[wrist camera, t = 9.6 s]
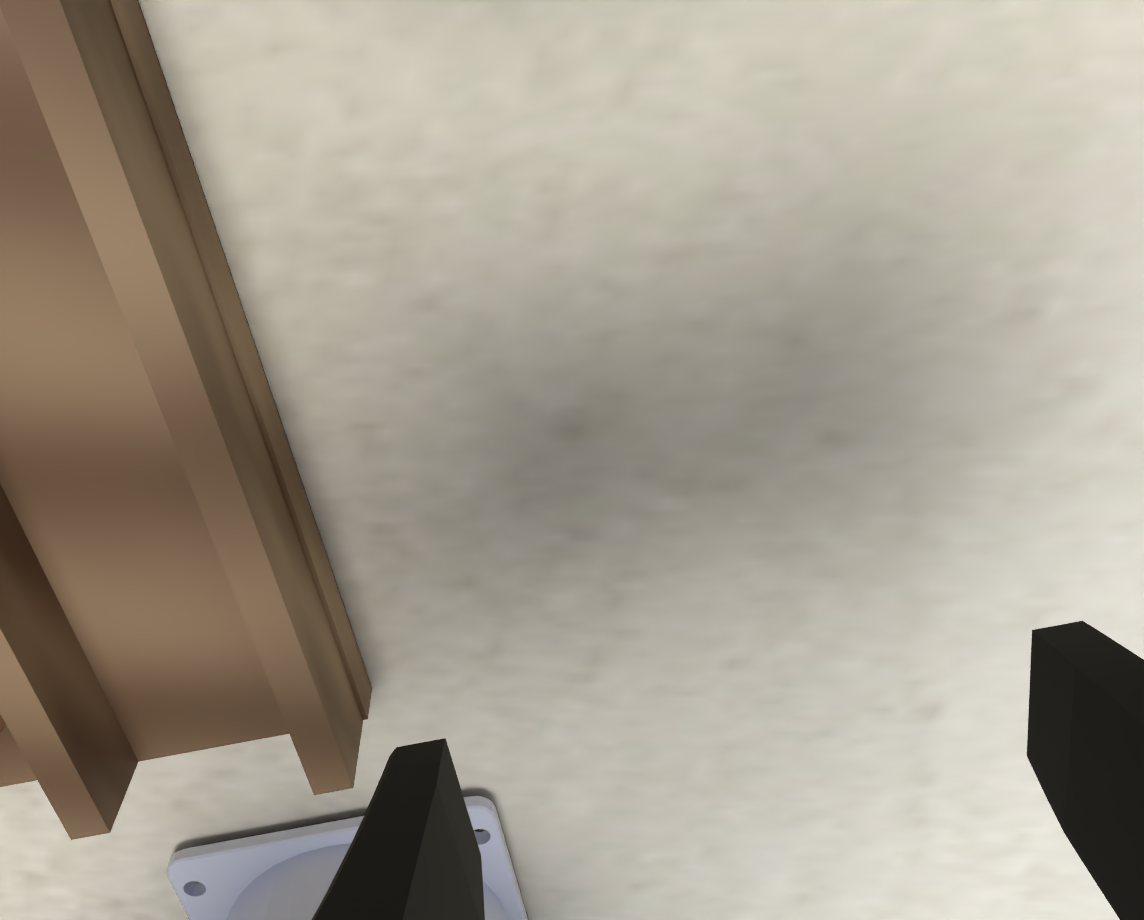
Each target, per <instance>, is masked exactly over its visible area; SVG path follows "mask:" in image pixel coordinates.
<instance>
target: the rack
mask: <svg viewBox="0 0 1144 920" xmlns="http://www.w3.org/2000/svg"><path fill="white" fill-rule="evenodd" d="M371 692H372V688H371V685H370V682H369V679H368V676H367V673H366V670H365V667H364V664H363V661H362V658H361V655H360V652H359V649H358V646H357V643H356V640H355V638H354V635H353V632H352V629H351V626H350V623H349V620H348V617H347V614H346V611H345V608H344V605H343V602H342V599H341V596H340V593H339V591H338V588H337V585H336V582H335V579H334V576H333V573H332V570H331V567H330V564H329V561H328V558H327V555H326V552H325V549H324V546H323V544H322V541H321V538H320V535H319V532H318V529H317V526H316V523H315V520H314V517H313V514H312V511H311V508H310V505H309V502H308V499H307V497H306V494H305V491H304V488H303V485H302V482H301V479H300V476H299V473H298V470H297V467H296V464H295V461H294V458H293V455H292V452H291V449H290V447H289V444H288V441H287V438H286V435H285V432H284V429H283V426H282V423H281V420H280V417H279V414H278V411H277V408H276V405H275V402H274V400H273V397H272V394H271V391H270V388H269V385H268V382H267V379H266V376H265V373H264V370H263V367H262V364H261V361H260V358H259V355H258V353H257V350H256V347H255V344H254V341H253V338H252V335H251V332H250V329H249V326H248V323H247V320H246V317H245V314H244V311H243V308H242V306H241V303H240V300H239V297H238V294H237V291H236V288H235V285H234V282H233V279H232V276H231V273H230V270H229V267H228V264H227V261H226V258H225V256H224V253H223V250H222V247H221V244H220V241H219V238H218V235H217V232H216V229H215V226H214V223H213V220H212V217H211V214H210V211H209V209H208V206H207V203H206V200H205V197H204V194H203V191H202V188H201V185H200V182H199V179H198V176H197V173H196V170H195V167H194V164H193V162H192V159H191V156H190V153H189V150H188V147H187V144H186V141H185V138H184V135H183V132H182V129H181V126H180V123H179V120H178V117H177V115H176V112H175V109H174V106H173V103H172V100H171V97H170V94H169V91H168V88H167V85H166V82H165V79H164V76H163V73H162V70H161V67H160V65H159V62H158V59H157V56H156V53H155V50H154V47H153V44H152V41H151V38H150V35H149V32H148V29H147V26H146V23H145V20H144V18H143V15H142V12H141V9H140V6H139V3H138V0H0V714H1V716H2V718H3V720H4V721H5V723H6V725H5V727H4V728H3V730H2V732H1V734H0V787H3V786H8V785H13V784H19V783H24V782H30V781H35V780H38V782H39V783H40V785H41V787H42V789H43V791H44V792H45V794H46V796H47V798H48V799H49V801H50V803H51V805H52V807H53V808H54V810H55V812H56V814H57V815H58V817H59V819H60V821H61V822H62V824H63V826H64V828H65V830H66V831H67V833H68V835H69V837H70V838H71V840H72V839H78V838H83V837H89V836H94V835H100V834H105V833H110V831H111V829H112V826H113V824H114V821H115V819H116V816H117V814H118V811H119V809H120V806H121V804H122V801H123V799H124V796H125V794H126V791H127V789H128V786H129V784H130V781H131V779H132V776H133V774H134V771H135V769H136V766H137V763H138V761H143V760H149V759H154V758H159V757H165V756H170V755H176V754H181V753H187V752H192V751H197V750H203V749H208V748H214V747H219V746H224V745H230V744H235V743H241V742H246V741H251V740H257V739H262V738H268V737H273V736H278V735H284V734H289V733H290V736H291V738H292V741H293V743H294V746H295V748H296V751H297V753H298V756H299V758H300V761H301V763H302V766H303V768H304V771H305V773H306V776H307V778H308V781H309V783H310V786H311V788H312V791H313V793H314V795H317V794H323V793H328V792H334V791H339V790H344V789H350V788H353V786H354V779H355V772H356V765H357V759H358V752H359V745H360V738H361V731H362V724H363V720H365V719H368V713H369V706H370V699H371Z"/></svg>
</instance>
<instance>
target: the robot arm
mask: <svg viewBox="0 0 1144 920" xmlns="http://www.w3.org/2000/svg"><path fill="white" fill-rule="evenodd" d="M1027 757H1028V759H1029V761H1030V763H1031V765H1032V767H1033V770H1034V772H1035V774H1036V776H1037V778H1038V780H1039V782H1040V784H1041V787H1042V789H1043V791H1044V793H1045V795H1046V797H1047V799H1048V801H1049V803H1050V805H1051V807H1052V809H1053V811H1054V813H1055V815H1056V817H1057V819H1058V821H1059V823H1060V825H1061V827H1062V829H1063V831H1064V833H1065V835H1066V836H1067V838H1068V839H1069V841H1070V843H1071V844H1072V846H1073V847H1074V849H1075V851H1076V852H1077V854H1078V855H1079V857H1080V858H1081V860H1082V862H1083V863H1084V865H1085V866H1086V868H1087V869H1088V871H1089V872H1090V874H1091V876H1092V877H1093V879H1094V880H1095V882H1096V883H1097V885H1098V886H1099V888H1100V890H1101V891H1102V893H1103V894H1104V896H1105V897H1106V899H1107V900H1108V902H1109V903H1110V905H1111V906H1112V908H1113V910H1114V911H1115V913H1116V914H1117V916H1118V917H1119V919H1120V920H1144V660H1143V659H1141V658H1140V657H1138V656H1137V655H1135V654H1134V653H1132V652H1131V651H1129V650H1128V649H1126V648H1125V647H1123V646H1121V645H1120V644H1118V643H1117V642H1115V641H1114V640H1112V639H1111V638H1109V637H1107V636H1106V635H1104V634H1103V633H1101V632H1100V631H1098V630H1096V629H1095V628H1093V627H1092V626H1090V625H1088V624H1087V623H1085V622H1083V621H1079V622H1074V623H1069V624H1063V625H1058V626H1052V627H1047V628H1041V629H1036V630H1032V647H1031V671H1030V695H1029V719H1028V743H1027ZM476 829H484V830H485V831H483V832H475V831H474V830H476ZM167 876H168V878H169V880H170V882H171V884H172V886H173V888H174V890H175V892H176V894H177V896H178V898H179V900H180V902H181V904H182V906H183V908H184V909H185V911H186V913H187V915H188V917H189V919H190V920H528V918H527V915H526V911H525V908H524V904H523V901H522V897H521V894H520V890H519V887H518V883H517V880H516V876H515V873H514V870H513V866H512V863H511V859H510V856H509V852H508V849H507V845H506V842H505V838H504V835H503V831H502V828H501V824H500V821H499V818H498V814H497V811H496V807H495V806H494V804H493V802H492V801H490V800H489V799H487V798H485V797H481V796H469V797H464V798H463V794H462V791H461V788H460V785H459V781H458V778H457V775H456V771H455V768H454V765H453V762H452V758H451V755H450V752H449V749H448V745H447V742H446V739H439V740H434V741H429V742H423V743H418V744H412V745H407V746H401V747H396V749H395V750H394V751H393V753H392V754H391V755H390V757H389V759H388V761H387V764H386V766H385V769H384V771H383V774H382V776H381V778H380V781H379V783H378V786H377V788H376V790H375V793H374V795H373V797H372V799H371V802H370V804H369V806H368V808H367V811H366V813H365V815H364V816H360V817H355V818H349V819H344V820H338V821H333V822H327V823H322V824H316V825H311V826H306V827H300V828H295V829H289V830H284V831H278V832H273V833H267V834H262V835H256V836H251V837H246V838H240V839H235V840H229V841H224V842H218V843H213V844H207V845H202V846H197V847H191V848H186V849H182V850H179V851H177V852H175V853H174V854H173V855H172V856H171V859H170V862H169V865H168V868H167ZM193 881H197V882H200V883H195V882H193Z"/></svg>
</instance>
